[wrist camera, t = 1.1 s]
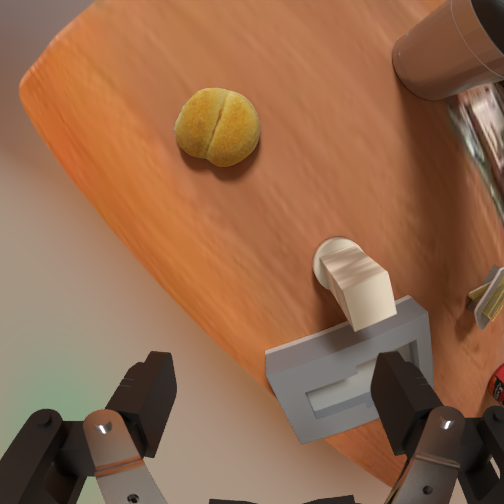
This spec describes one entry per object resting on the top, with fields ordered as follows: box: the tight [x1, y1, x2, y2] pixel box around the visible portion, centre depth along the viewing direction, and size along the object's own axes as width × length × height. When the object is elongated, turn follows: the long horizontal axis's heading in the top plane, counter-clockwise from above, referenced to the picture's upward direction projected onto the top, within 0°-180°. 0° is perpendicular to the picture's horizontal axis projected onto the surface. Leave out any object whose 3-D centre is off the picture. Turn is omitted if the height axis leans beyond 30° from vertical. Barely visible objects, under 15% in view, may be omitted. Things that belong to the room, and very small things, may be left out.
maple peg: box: [312, 236, 397, 332], centre depth 29 cm, size 6×6×12 cm
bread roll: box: [174, 88, 260, 167], centre depth 30 cm, size 8×9×4 cm
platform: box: [467, 265, 504, 329], centre depth 33 cm, size 12×18×7 cm, turn 148°
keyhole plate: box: [265, 295, 434, 444], centre depth 36 cm, size 20×14×6 cm
